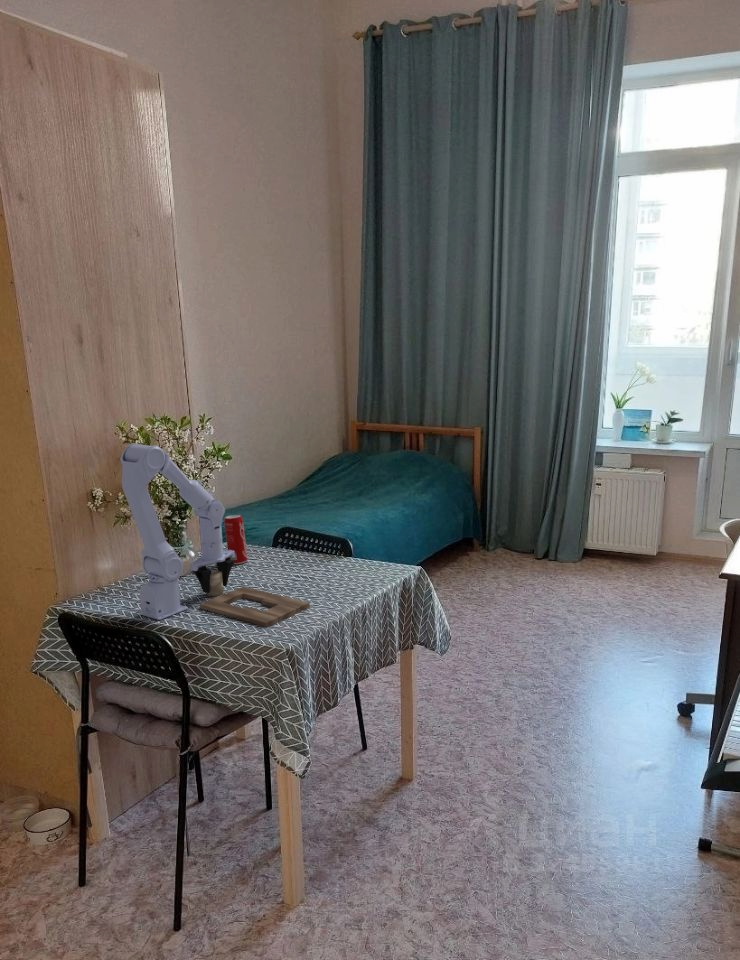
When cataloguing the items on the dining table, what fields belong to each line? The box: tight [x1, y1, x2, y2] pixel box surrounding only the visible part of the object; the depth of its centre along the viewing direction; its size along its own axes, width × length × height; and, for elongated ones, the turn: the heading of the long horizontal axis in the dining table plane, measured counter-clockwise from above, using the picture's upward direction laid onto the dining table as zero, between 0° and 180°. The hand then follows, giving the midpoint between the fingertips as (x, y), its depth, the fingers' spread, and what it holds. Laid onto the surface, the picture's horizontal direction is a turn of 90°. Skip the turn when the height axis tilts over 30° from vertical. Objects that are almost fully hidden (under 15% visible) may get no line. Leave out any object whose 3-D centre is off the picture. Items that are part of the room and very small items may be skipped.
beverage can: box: [223, 513, 249, 565], centre depth 231 cm, size 6×6×15 cm
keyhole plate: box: [199, 586, 310, 628], centre depth 192 cm, size 16×24×1 cm, turn 54°
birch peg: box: [206, 570, 224, 598], centre depth 203 cm, size 4×4×6 cm
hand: (214, 588), depth 203 cm, fingers open, 6 cm apart
